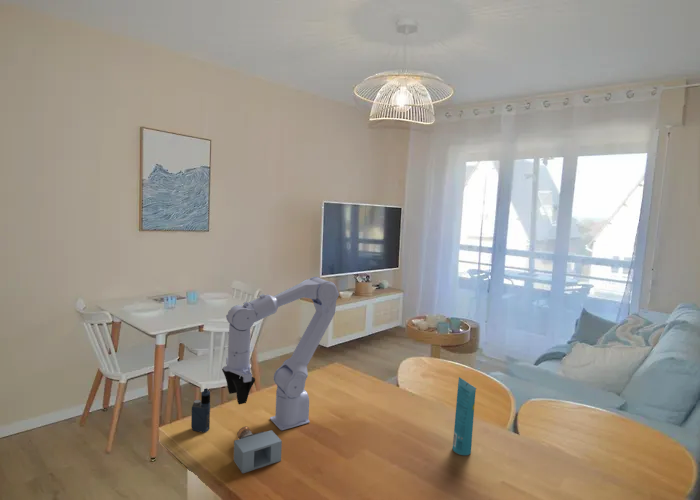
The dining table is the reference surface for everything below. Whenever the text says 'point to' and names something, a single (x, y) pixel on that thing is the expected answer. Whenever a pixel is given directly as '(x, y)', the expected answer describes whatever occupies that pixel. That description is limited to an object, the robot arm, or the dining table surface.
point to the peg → (244, 432)
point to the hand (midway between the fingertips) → (237, 397)
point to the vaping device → (201, 413)
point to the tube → (464, 418)
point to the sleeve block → (257, 451)
